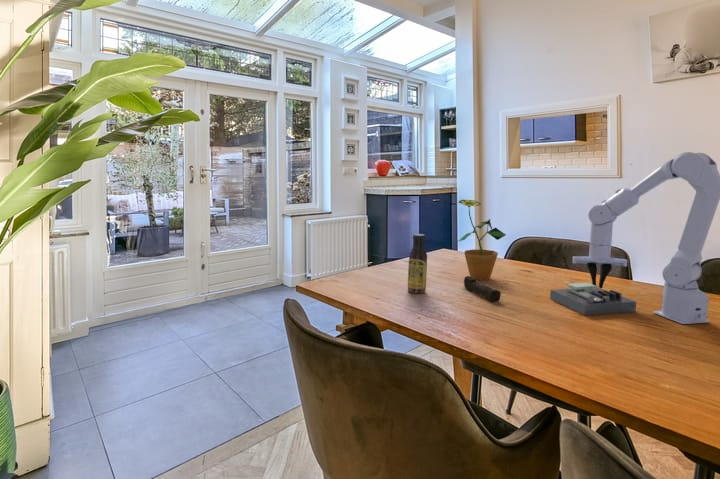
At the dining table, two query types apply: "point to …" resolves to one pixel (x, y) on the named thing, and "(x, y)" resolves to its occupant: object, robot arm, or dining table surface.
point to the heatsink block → (589, 307)
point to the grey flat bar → (585, 294)
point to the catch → (583, 287)
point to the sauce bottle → (417, 265)
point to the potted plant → (480, 259)
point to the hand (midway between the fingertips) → (597, 287)
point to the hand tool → (481, 289)
